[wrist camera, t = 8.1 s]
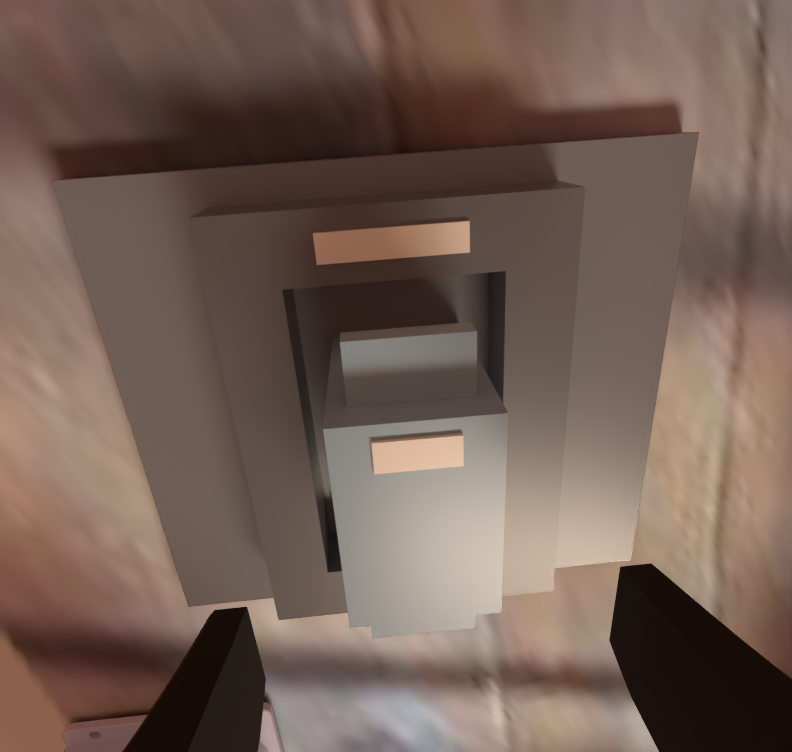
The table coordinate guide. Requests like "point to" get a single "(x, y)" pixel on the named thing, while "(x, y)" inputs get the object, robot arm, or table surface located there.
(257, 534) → the chassis
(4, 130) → the table surface
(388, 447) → the block
